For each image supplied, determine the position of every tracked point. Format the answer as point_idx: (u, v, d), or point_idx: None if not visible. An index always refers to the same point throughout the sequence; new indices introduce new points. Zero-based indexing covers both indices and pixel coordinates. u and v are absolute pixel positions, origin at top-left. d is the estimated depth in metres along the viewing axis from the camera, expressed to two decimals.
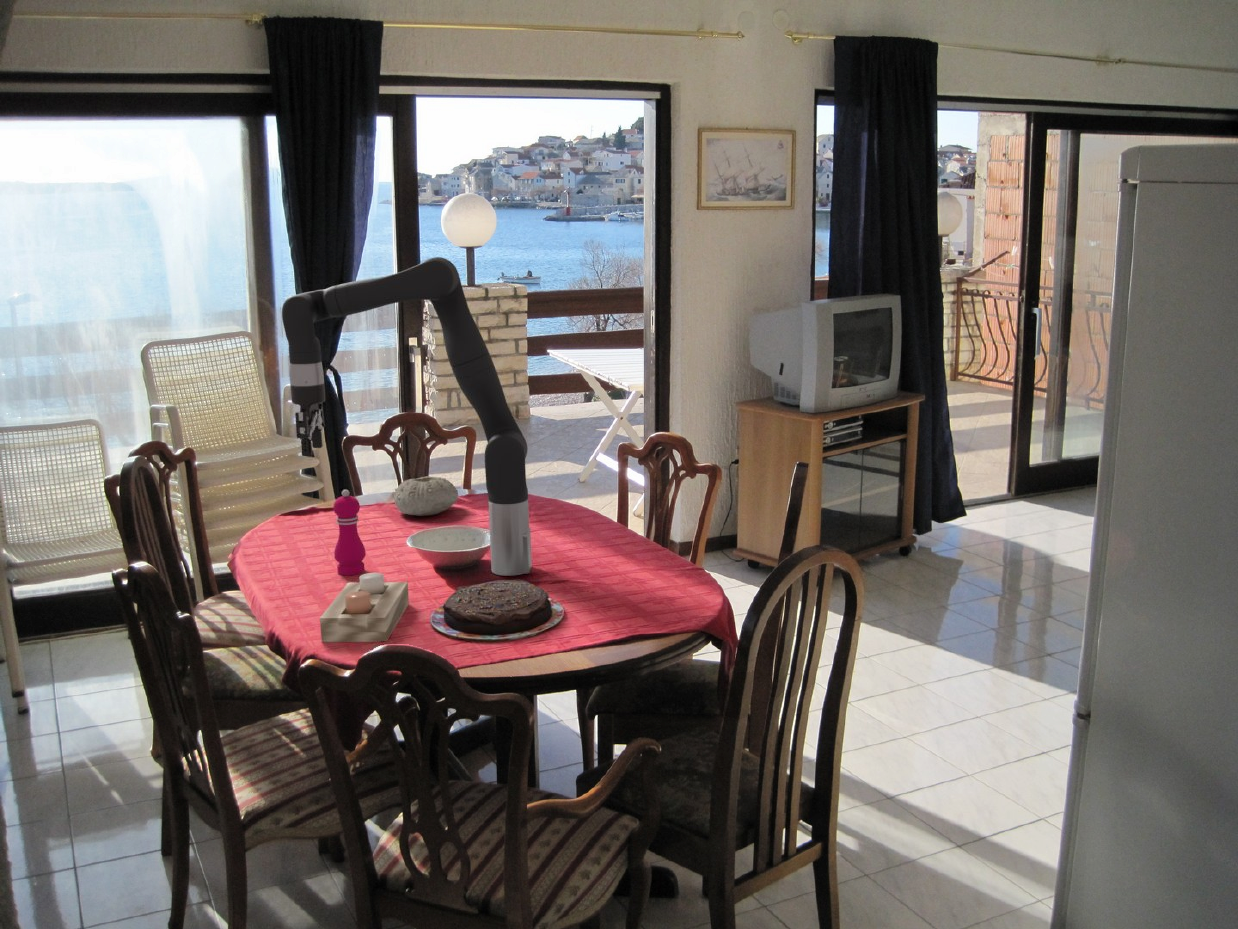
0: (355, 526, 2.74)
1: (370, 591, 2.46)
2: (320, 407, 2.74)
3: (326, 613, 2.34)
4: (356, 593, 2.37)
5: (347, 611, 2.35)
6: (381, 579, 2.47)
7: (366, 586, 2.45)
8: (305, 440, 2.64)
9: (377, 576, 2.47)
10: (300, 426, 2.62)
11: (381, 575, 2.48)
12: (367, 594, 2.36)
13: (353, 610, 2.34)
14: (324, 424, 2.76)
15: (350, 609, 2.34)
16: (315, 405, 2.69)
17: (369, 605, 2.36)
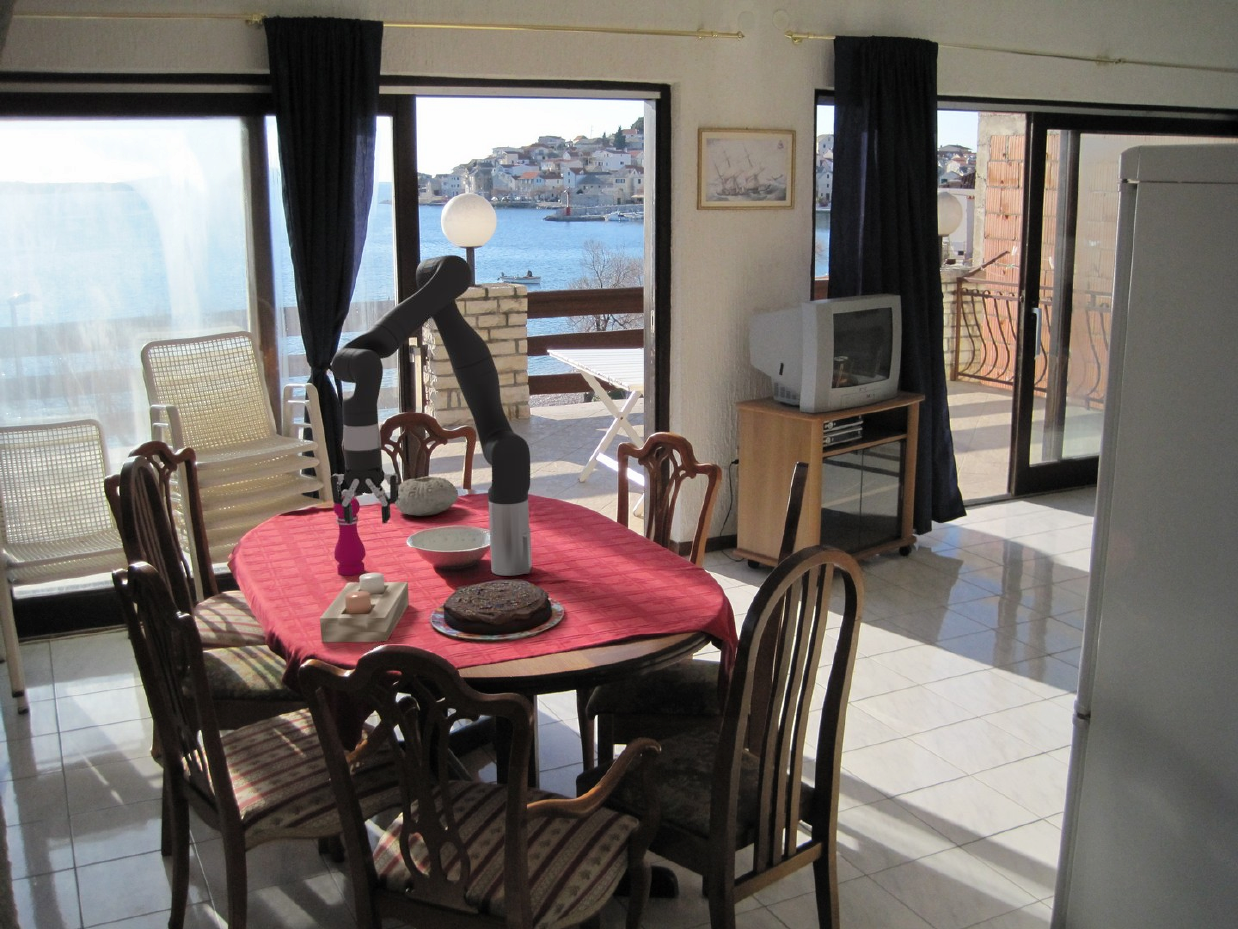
0: (355, 526, 2.74)
1: (370, 591, 2.46)
2: None
3: (326, 613, 2.34)
4: (356, 593, 2.37)
5: (347, 611, 2.35)
6: (381, 579, 2.47)
7: (366, 586, 2.45)
8: (389, 505, 2.44)
9: (377, 576, 2.47)
10: (396, 489, 2.43)
11: (381, 575, 2.48)
12: (367, 594, 2.36)
13: (353, 610, 2.34)
14: None
15: (350, 609, 2.34)
16: None
17: (369, 605, 2.36)
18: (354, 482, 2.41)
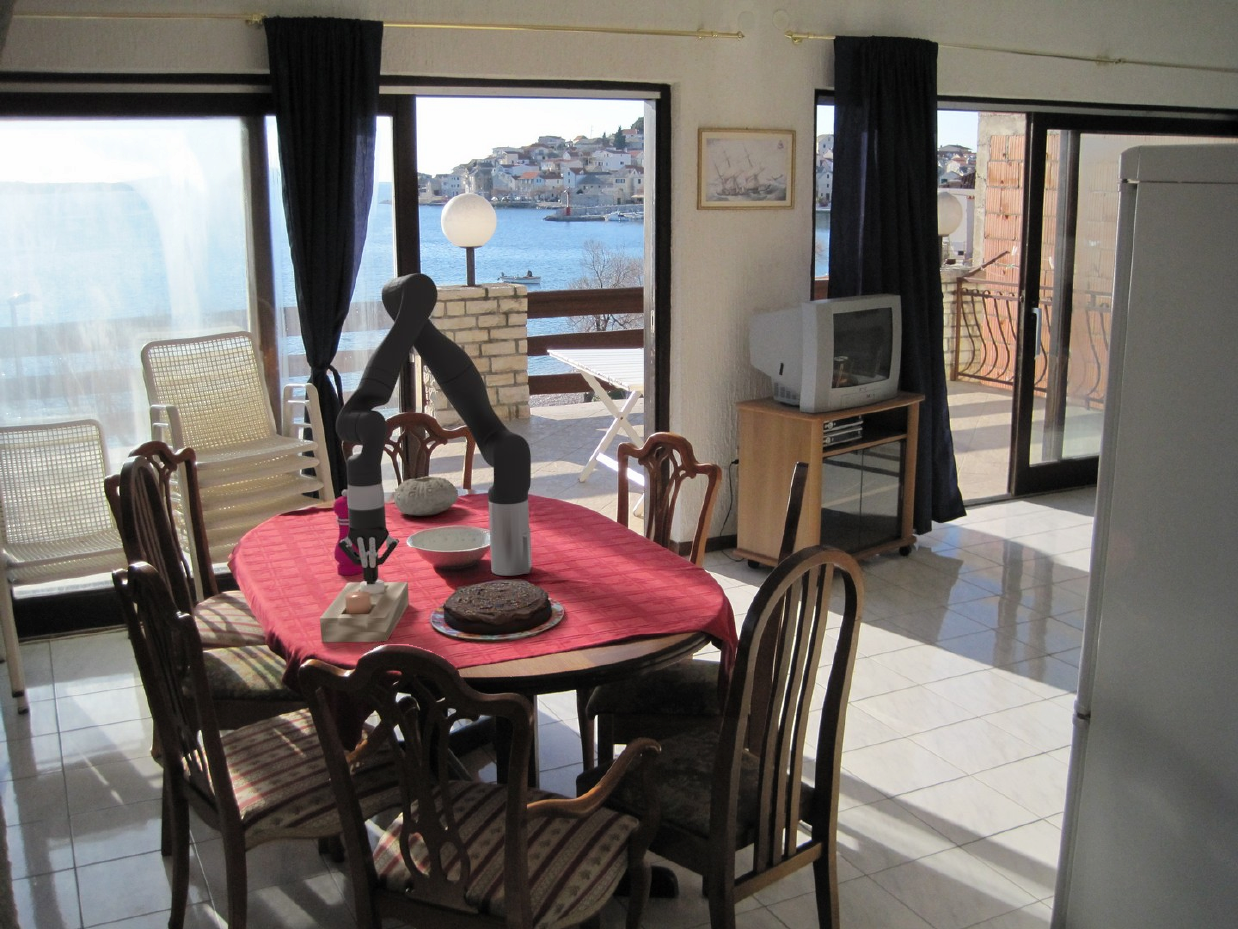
0: None
1: None
2: None
3: (326, 613, 2.34)
4: (356, 593, 2.37)
5: (347, 611, 2.35)
6: (382, 586, 2.47)
7: None
8: (377, 566, 2.47)
9: (378, 583, 2.48)
10: None
11: (381, 582, 2.48)
12: (367, 594, 2.36)
13: (353, 610, 2.34)
14: None
15: (350, 609, 2.34)
16: None
17: (369, 605, 2.36)
18: (359, 541, 2.44)
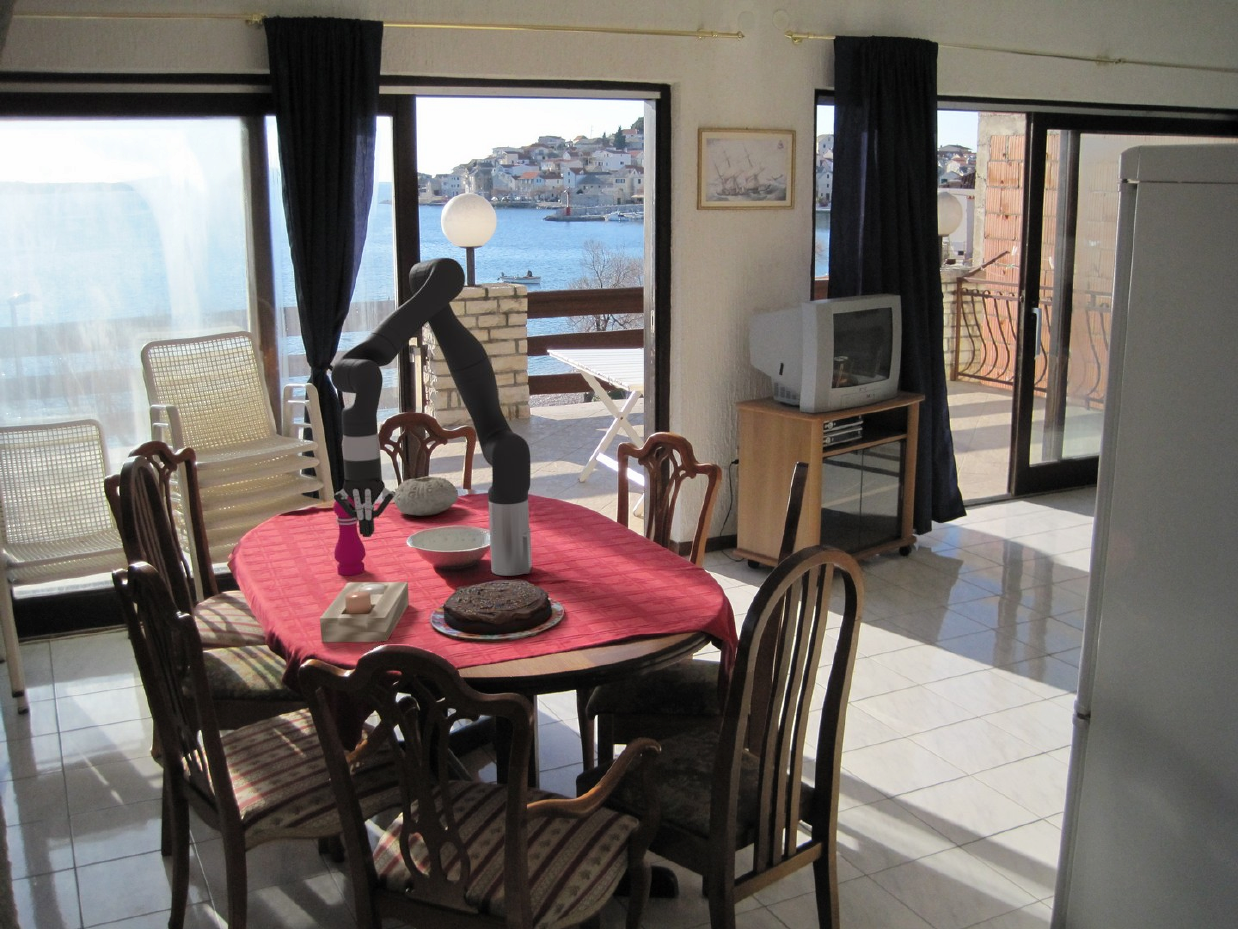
0: (355, 526, 2.74)
1: None
2: None
3: (326, 613, 2.34)
4: (356, 593, 2.37)
5: (347, 611, 2.35)
6: (382, 590, 2.47)
7: None
8: (373, 518, 2.44)
9: (378, 587, 2.48)
10: (386, 506, 2.43)
11: (382, 586, 2.48)
12: (367, 594, 2.36)
13: (353, 610, 2.34)
14: None
15: (350, 609, 2.34)
16: None
17: (369, 605, 2.36)
18: (354, 493, 2.41)
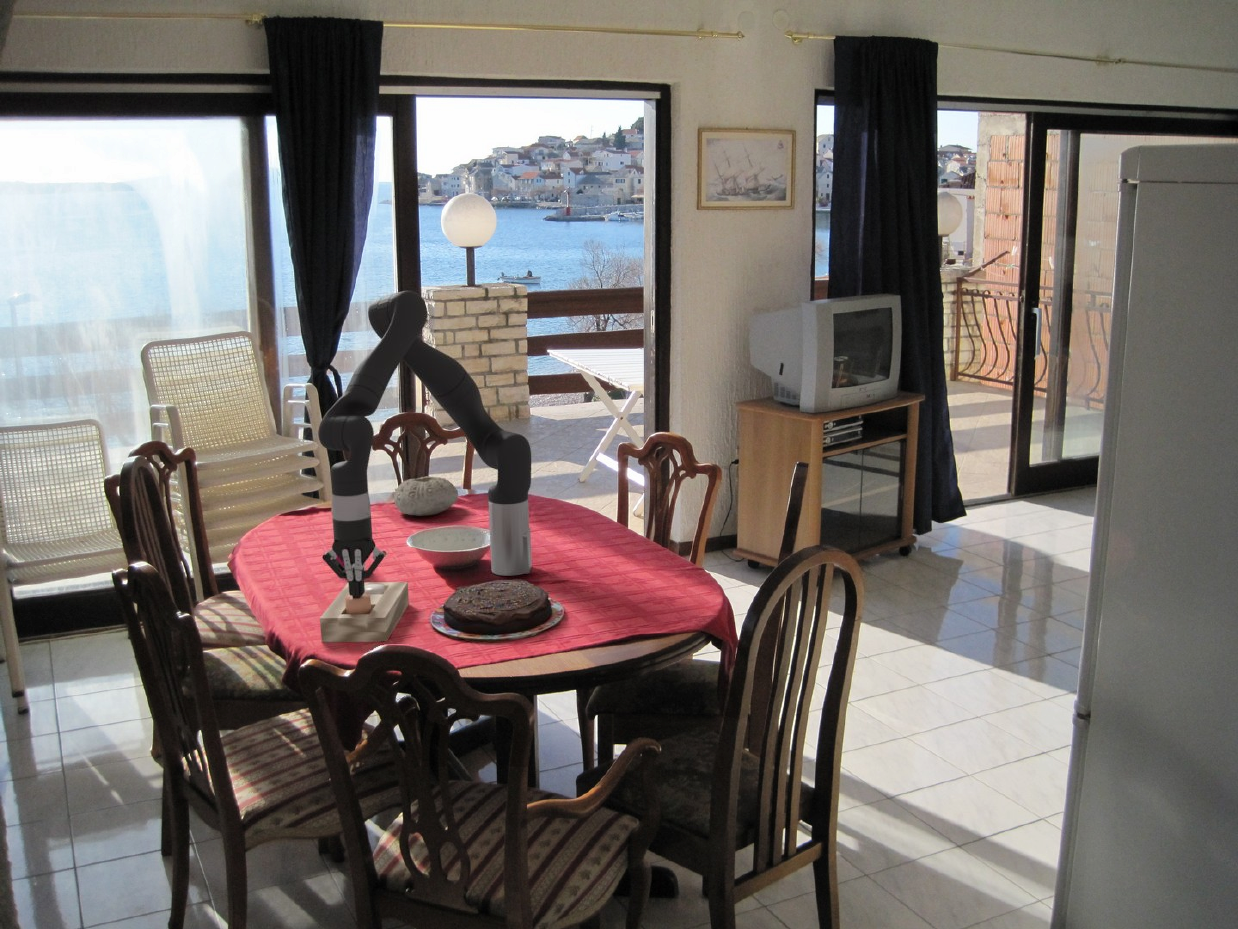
0: None
1: None
2: None
3: (326, 613, 2.34)
4: None
5: (347, 613, 2.35)
6: (382, 590, 2.47)
7: None
8: (363, 579, 2.35)
9: (378, 587, 2.48)
10: None
11: (382, 586, 2.48)
12: (367, 596, 2.36)
13: (353, 612, 2.34)
14: None
15: (350, 611, 2.34)
16: None
17: (369, 607, 2.36)
18: (344, 553, 2.32)
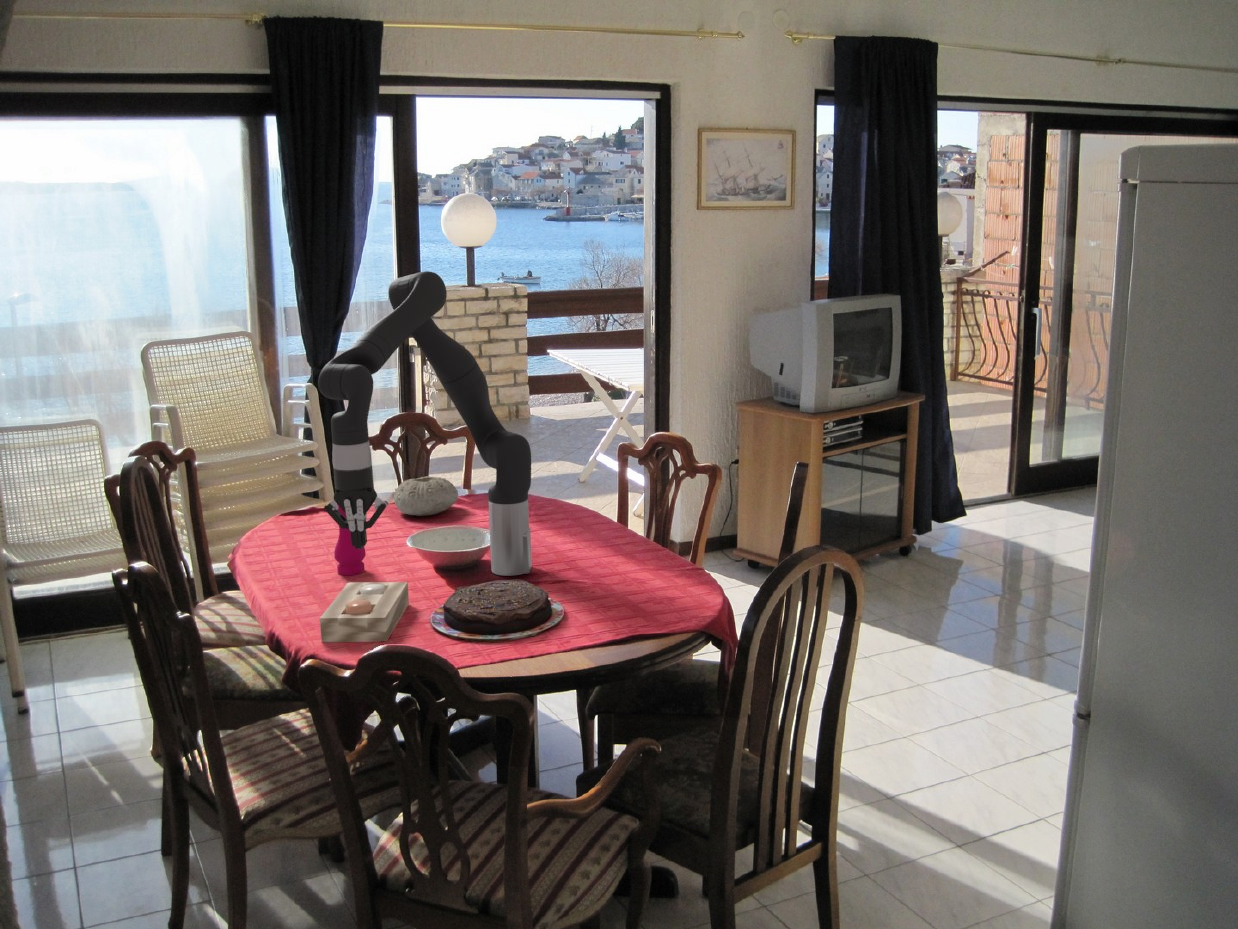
0: None
1: None
2: None
3: (326, 613, 2.34)
4: (356, 601, 2.37)
5: None
6: (382, 590, 2.47)
7: None
8: (365, 529, 2.35)
9: (378, 587, 2.48)
10: None
11: (382, 586, 2.48)
12: (368, 603, 2.37)
13: None
14: None
15: None
16: None
17: None
18: (346, 504, 2.31)
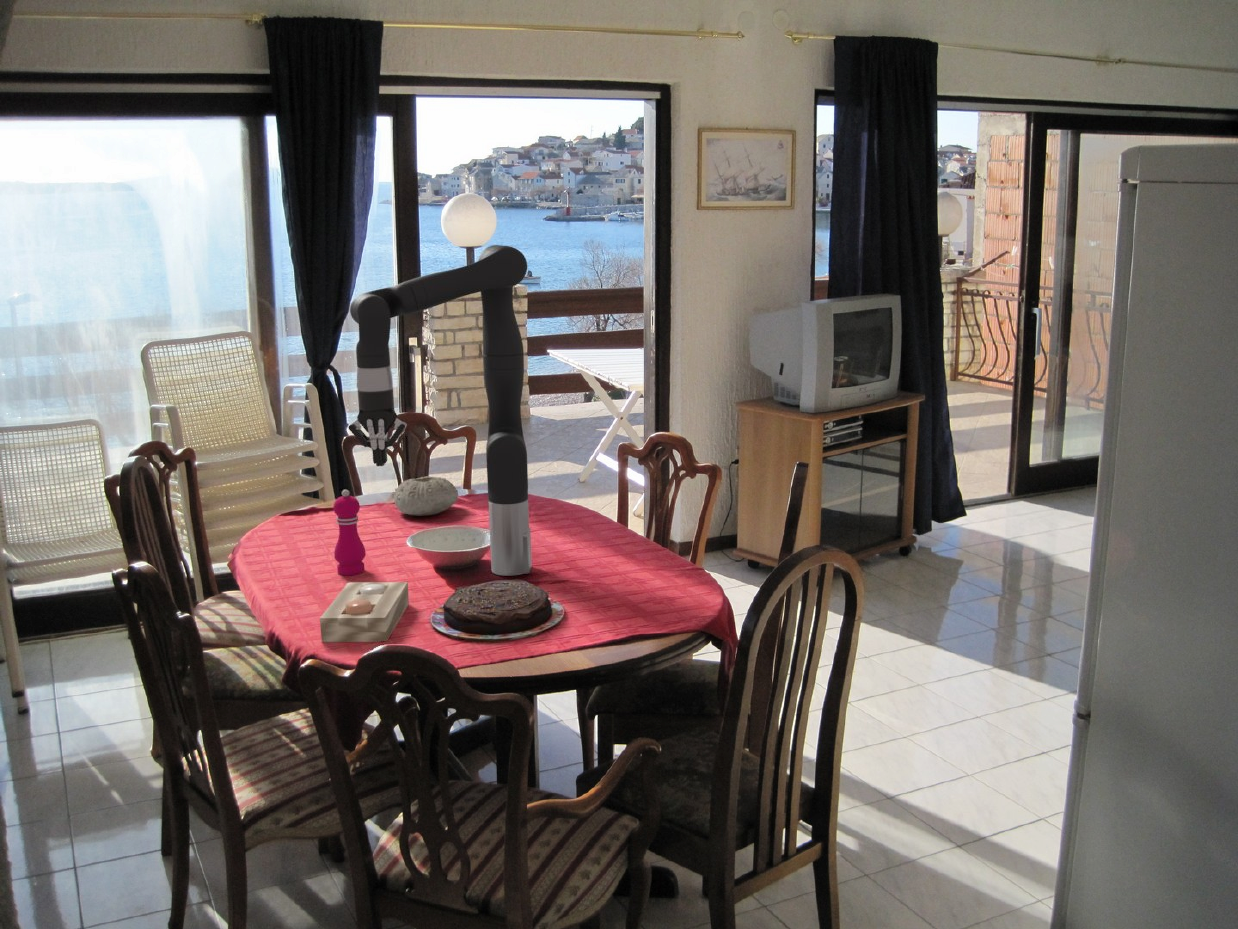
0: (355, 526, 2.74)
1: None
2: None
3: (326, 613, 2.34)
4: (356, 601, 2.37)
5: None
6: (382, 590, 2.47)
7: None
8: (386, 448, 2.56)
9: (378, 587, 2.48)
10: (398, 436, 2.55)
11: (382, 586, 2.48)
12: (368, 603, 2.37)
13: None
14: None
15: None
16: None
17: None
18: (368, 423, 2.52)
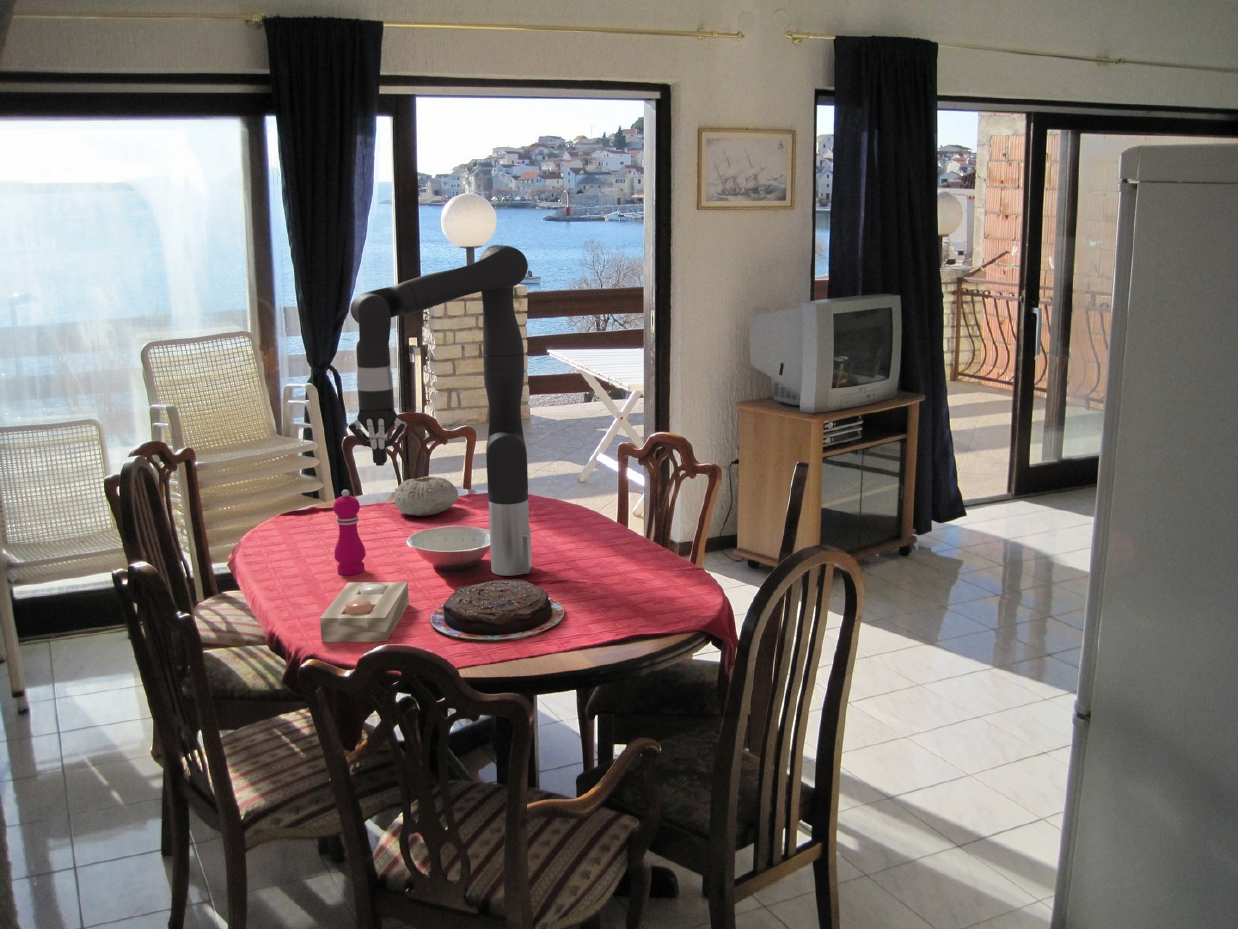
0: (355, 526, 2.74)
1: None
2: None
3: (326, 613, 2.34)
4: (356, 601, 2.37)
5: None
6: (382, 590, 2.47)
7: None
8: (386, 448, 2.56)
9: (378, 587, 2.48)
10: (398, 436, 2.55)
11: (382, 586, 2.48)
12: (368, 603, 2.37)
13: None
14: None
15: None
16: None
17: None
18: (368, 423, 2.52)
